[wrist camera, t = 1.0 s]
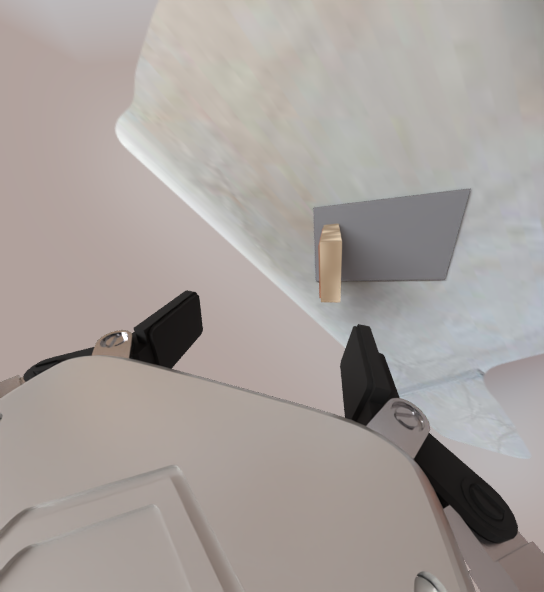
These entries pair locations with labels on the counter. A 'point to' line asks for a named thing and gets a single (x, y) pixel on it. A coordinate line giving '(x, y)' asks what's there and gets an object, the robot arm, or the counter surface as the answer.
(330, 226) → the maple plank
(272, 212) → the counter surface
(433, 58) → the counter surface
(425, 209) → the rubber mat
